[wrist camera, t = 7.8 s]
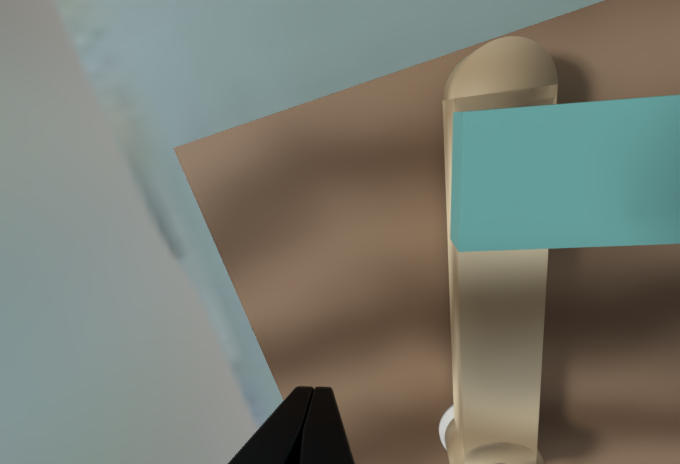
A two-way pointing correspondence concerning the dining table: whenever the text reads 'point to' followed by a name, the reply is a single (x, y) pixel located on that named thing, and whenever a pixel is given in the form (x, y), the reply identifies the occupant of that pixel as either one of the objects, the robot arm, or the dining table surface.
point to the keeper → (566, 177)
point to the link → (496, 280)
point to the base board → (442, 256)
